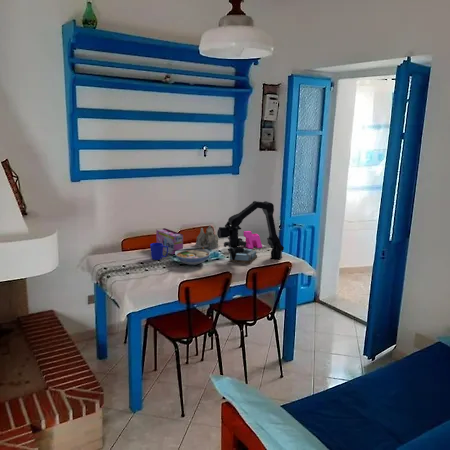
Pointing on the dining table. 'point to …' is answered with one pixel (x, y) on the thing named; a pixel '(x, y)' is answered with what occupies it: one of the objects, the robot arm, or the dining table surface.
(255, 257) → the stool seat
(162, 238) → the gum box
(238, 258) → the folding leg
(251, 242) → the magenta blocky figure
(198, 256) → the ramen bowl
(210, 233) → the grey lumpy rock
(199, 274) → the dining table surface
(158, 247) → the mug
